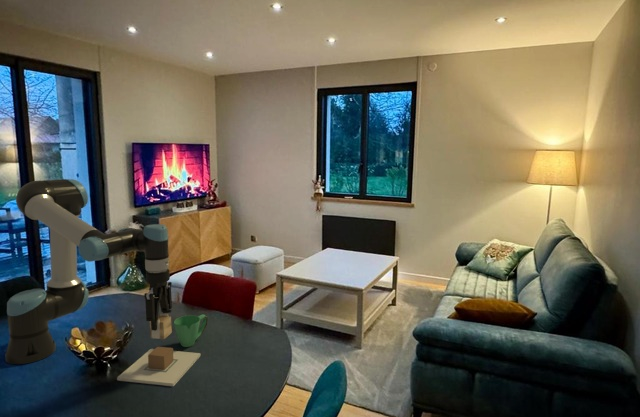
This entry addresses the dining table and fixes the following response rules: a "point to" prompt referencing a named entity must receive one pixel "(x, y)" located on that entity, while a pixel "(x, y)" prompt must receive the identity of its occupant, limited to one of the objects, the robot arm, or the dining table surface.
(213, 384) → the dining table surface
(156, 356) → the cream square board
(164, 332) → the oak block
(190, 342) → the mug
